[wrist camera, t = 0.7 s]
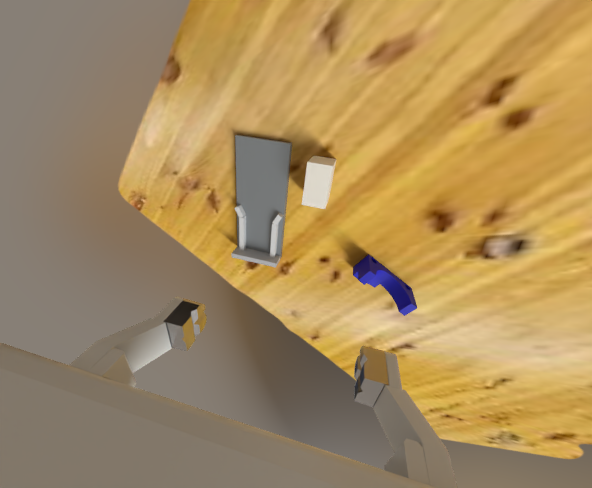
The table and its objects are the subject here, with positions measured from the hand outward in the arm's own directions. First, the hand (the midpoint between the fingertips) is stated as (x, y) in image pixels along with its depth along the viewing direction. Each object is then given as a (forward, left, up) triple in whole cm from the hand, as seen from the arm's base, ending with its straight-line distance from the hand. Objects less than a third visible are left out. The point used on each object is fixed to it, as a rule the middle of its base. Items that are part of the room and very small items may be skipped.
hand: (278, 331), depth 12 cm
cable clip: (+20, +14, -36) cm, 43 cm away
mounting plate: (+8, -13, -35) cm, 39 cm away
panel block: (+1, -2, -35) cm, 35 cm away
